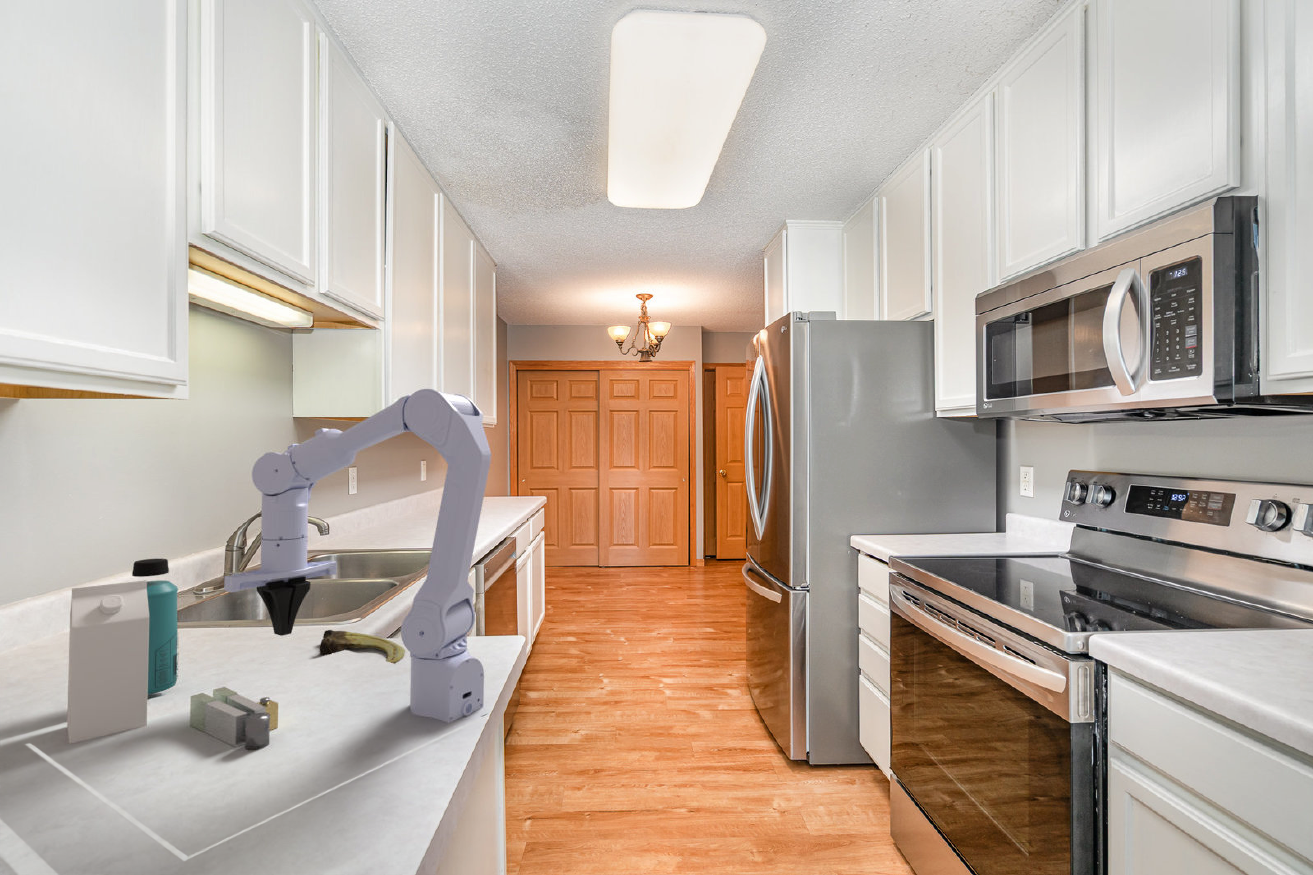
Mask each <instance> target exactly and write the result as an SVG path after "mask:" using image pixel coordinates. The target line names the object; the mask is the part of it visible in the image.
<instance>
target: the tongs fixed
mask: <svg viewBox="0 0 1313 875" xmlns="http://www.w3.org/2000/svg"><path fill="white" fill-rule="evenodd" d="M189 705H190V710H189V711H190V712H189V725H190V727H193V728H194V729H196V730H199V731H201V732H203V733H206V734H208V735H210V736H211V737H214V738H216V739H217V740H220V741H221V742H224V743H226V744H228V745H230V746H232V747H234V748H237V747H240V746H243V745H244V749H245V750H246V751H258V750H261V749H265V748H266V747H267V746H269V745H270V735H271V734H270V731H271V730H270V714H269V713H266V712H262V713H256V714H252V715H250V716H248V717H247V713H246V712H243V711H241V710H239V709H236V708H234V707H232V706H229V705H227V704H225V703H222V702H220V701H218V700H217V699H216V698H213V696H211V695H208V694H206V693H205V692H201V693H198V694H195V695H191V696H190V704H189Z"/></svg>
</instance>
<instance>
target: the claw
mask: <svg viewBox="0 0 1313 875" xmlns="http://www.w3.org/2000/svg"><path fill="white" fill-rule="evenodd" d="M374 648H375V650H380V651H381V652H385V653H386V652H387V653H386V654H387V657H386V660H385V662H387V663H390V664H396V663H398V662H399V661H401V660H402V659H403V657H404V656H405V654H406V653H405V652H406V650H405V649H404V648H403V646H401V645H399V644H397V643H395V642H393V641H391V640H389V639H386V638H382V637H379V636H375V635H371V634H366V633H359V632H351V631H345V630H333V629H328V630H324V632H323V636H322V639H321V642H320V646H319V655H320V656H328V655H332V653H333V654H337V653H339V652H343V651H347V650H351V649H374ZM400 659H401V660H400Z"/></svg>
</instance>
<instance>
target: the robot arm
mask: <svg viewBox="0 0 1313 875" xmlns="http://www.w3.org/2000/svg"><path fill="white" fill-rule="evenodd" d="M483 419H484V413H483V412H482V411H481V409H480V408H478V406H477V404H475V403H474V402H473V401H472V399H470V398H469V397H468V396H466V395H463V394H459V393H456V394H455V393H454V394H452V393H449V392H442V391H438V390H435V389H434V388H433V389H432V388H421V389H419V390H417V391H415V392H413V393H412V394H407V395H405V396H400V398H398V399H397V400H396V401H395V402H394V403H393V404H391V405H388V406H387V407H385V408H383V409H381V410H380V411H378V412H376V413H374V414H373V415H371V416H369V417H367V418H366V419H364V420H362V421H360V422H358V423H357V424H355V425H353V426H351V427H349V428H348V429H346V430H344V431H342V430H340V429H337V428H330V429H329V428H322V427H321V428H319V429H317V430H315V431H314V434H315V436H313V437H310V438H309V439H307V440H305V441H303V442H301V443H292V444H289V445H288V446H287V450H285V451H284V453H280V452H276V451H275V452H274V451H269V452H265V453H264V454H263V455H262V456H260V457H259V458H258V459H257V460H256V461H255V463H254V464H253V467H252V470H251V471H252V472H251V478H252V482H253V483H252V484H254V486H255V488H256V489H257V490H258V491H259V492H261V522H260V523H261V527H260V528H261V530H260V531H261V533H260V539H261V540H260V568H258V569H255V570H248V571H246V572H240V573H236V574H231V575H226V576H224V581H223V582H224V585H223V586H224V587H223V588H224V590H223V591H224V592H228V593H237V592H240V591H241V590H247V589H252V588H253V589H254V588H256V592H257V593H258V595H259V596H260V598H261V600H262V601H263V603H264V605H265V607H266V609H267V612H268V614H269V618H270V620H271V625H272V629H273V634H274V635H278V636H280V637H281V636H282V637H283V636H286V635H291V634H292V631H293V628H294V625H295V621H296V619H297V618H296V617H297V615H298V612H299V610H300V607H301V606H302V604H303V601H304V599H305V597H306V596H307V594H308V592H309V591H310V590H311V581H308V580H307V579H312V578H317V577H323V576H334V575H337V561H333V560H322V561H313V562H308V541H309V540H308V538H309V537H308V535H309V534H308V533H309V532H308V530H309V528H308V526H309V525H308V524H309V523H308V522H309V502H310V501H311V500H312V496H311V495H312V490H313V488H314V487H315V486H316V484H317V483H318V481H320V480H322V479H325V478H326V477H329V476H331V475H333V474H335V473H337V472H339V471H341V470H343V469H346V468H347V467H350V466H351V465H352V464H354V462H355V459H356V457H357V453H358V452H361V451H363V450H365V449H367V448H370V447H373V446H375V445H377V444H379V443H382V442H383V441H386V440H388V439H391V438H393V437H395V436H398V435H401V434H403V433H405V432H406V433H407V432H409V433H410V432H412V433H413V434H415V436H417V437H419V438H420V439H422V440H423V441H425V442H426V443H428V444H430V445H431V446H432V447H433V448H435V449H436V451H437V452H438V453H439V454H440V456H441V457H442V458H443V459H444V461H445V462H446V463H447V470H446V476H445V481H444V484H443V485H444V486H443V490H442V495H441V500H440V506H439V512H438V517H437V520H436V526H435V533H434V538H433V542H432V548H431V551H430V552H431V553H430V558H429V563H428V568H427V573H426V578H425V580H424V581H423V583H422V585H421V586H420V588H419V589H418V590H417V592H416V594H415V595H414V597H413V601H412V606H411V608H410V611H409V612H408V613H407V615H406V616H405V617H404V619H403V620H402V624H401V627H400V638H401V641H402V644H403V646H404V647H405V648H406V650H407V651H408V652H409V657H410V687H409V688H410V693H409V695H410V698H409V700H410V701H409V703H410V704H409V710H410V712H411V713H412V714H413V715H416V716H419V717H428V718H432V719H435V720H439V721H441V722H445V723H452V722H455V721H456V720H458V719H461V718H463V717H464V716H467V717H468V716H470V715H471V714H472V713H473V712H476V711H479V710H480V709H482V708H484V698H485V697H484V696H485V694H484V693H485V690H484V688H485V687H484V686H485V684H484V683H485V680H484V679H485V670H484V666H483V664H482V662H481V661H480V660H479V659H478V658H476V657H474V656H473V655H472V654H470V652H469V649H468V640H467V638H468V637H467V636H468V633H469V632H471V630H472V629H473V627H474V624H475V621H476V610H475V608H474V602H473V601H474V600H473V597H474V592H475V589H474V588H473V587H472V585H471V584H470V582H469V581H468V580H469V577H470V576H469V574H470V569H471V565H472V559H473V554H474V550H475V544H476V543H475V542H476V538H477V533H478V528H479V522H480V520H481V519H480V518H481V514H482V508H483V502H484V496H485V494H486V493H485V491H486V487H487V482H488V477H489V471H490V467H491V466H490V464H491V461H492V452H491V449H490V445H489V441H488V439H487V436H486V432H485V429H484V426H483V421H484V420H483ZM487 715H489V713H486V714H483V715H481V716H480V717H481V718H483V717H485V716H487Z"/></svg>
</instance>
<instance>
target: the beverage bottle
mask: <svg viewBox="0 0 1313 875" xmlns="http://www.w3.org/2000/svg"><path fill="white" fill-rule="evenodd" d="M169 572H170V568H169V560H168V559H167V558H147V559H140V560H136V561H134V563H133V568H132V571H131V576H132V577H137V578H138V577H139V578H142V577H143V578H144V577H155V576H163V575H166V574H167V575H168V574H169ZM178 591H179V588H178V586H176V585H175V584H174V583H172V582H171V581H170V580H150V581H148V580H147V597H148V607H149V652H148V695H147V696H149V695H153V694H158V693H161V692H165V691H166V690H170V689H172V688H173V687H174V686H176V683H177V680H178V677H179V674H178V671H179V668H178V666H179V659H178V656H179V653H178V650H179V633H178V629H179V626H178V621H179V618H178Z"/></svg>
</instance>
